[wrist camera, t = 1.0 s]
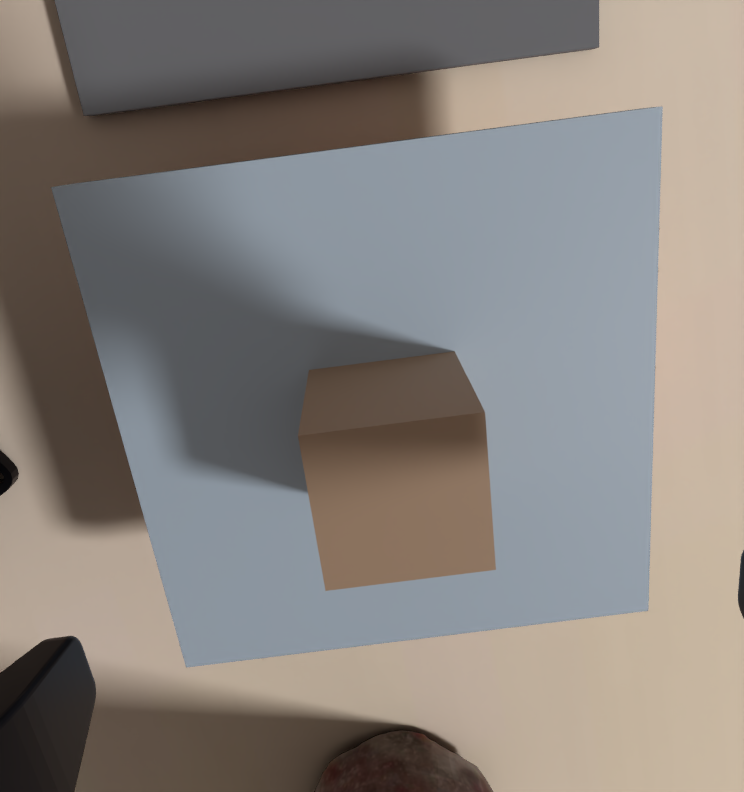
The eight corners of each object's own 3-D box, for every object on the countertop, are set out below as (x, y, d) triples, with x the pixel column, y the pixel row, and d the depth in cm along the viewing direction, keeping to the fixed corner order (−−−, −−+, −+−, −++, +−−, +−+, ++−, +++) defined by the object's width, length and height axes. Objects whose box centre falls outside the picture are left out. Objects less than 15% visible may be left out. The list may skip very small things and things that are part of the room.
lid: (632, 586, 18) (717, 720, 14) (194, 640, 18) (148, 788, 14) (641, 108, 14) (767, 95, 10) (70, 184, 14) (-46, 203, 10)
